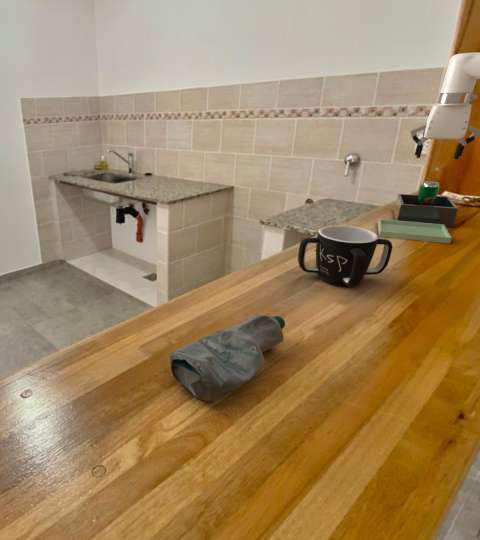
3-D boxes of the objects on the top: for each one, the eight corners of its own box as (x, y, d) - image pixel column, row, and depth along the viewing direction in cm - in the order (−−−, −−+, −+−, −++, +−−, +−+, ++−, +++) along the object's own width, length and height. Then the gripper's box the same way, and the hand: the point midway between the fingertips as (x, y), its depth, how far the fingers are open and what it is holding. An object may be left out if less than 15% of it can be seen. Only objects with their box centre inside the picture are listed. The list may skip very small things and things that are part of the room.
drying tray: (442, 229, 120) (444, 224, 119) (450, 243, 109) (451, 237, 109) (377, 224, 128) (379, 219, 127) (379, 236, 117) (380, 231, 117)
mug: (287, 275, 97) (293, 230, 92) (329, 261, 103) (337, 218, 98) (348, 302, 83) (359, 251, 78) (392, 283, 90) (405, 235, 85)
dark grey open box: (443, 214, 133) (449, 196, 130) (451, 228, 121) (458, 208, 118) (393, 211, 140) (397, 193, 137) (396, 223, 128) (401, 204, 125)
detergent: (210, 420, 55) (314, 354, 67) (208, 379, 53) (316, 318, 64) (155, 377, 66) (253, 326, 77) (152, 342, 63) (253, 295, 75)
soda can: (415, 219, 128) (425, 184, 123) (409, 215, 133) (418, 180, 128) (433, 220, 127) (443, 184, 122) (425, 215, 132) (435, 180, 127)
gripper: (488, 98, 114) (468, 157, 121) (417, 100, 122) (402, 155, 129) (495, 99, 108) (474, 161, 115) (419, 101, 116) (404, 158, 123)
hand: (436, 158), depth 122 cm, fingers open, 9 cm apart
